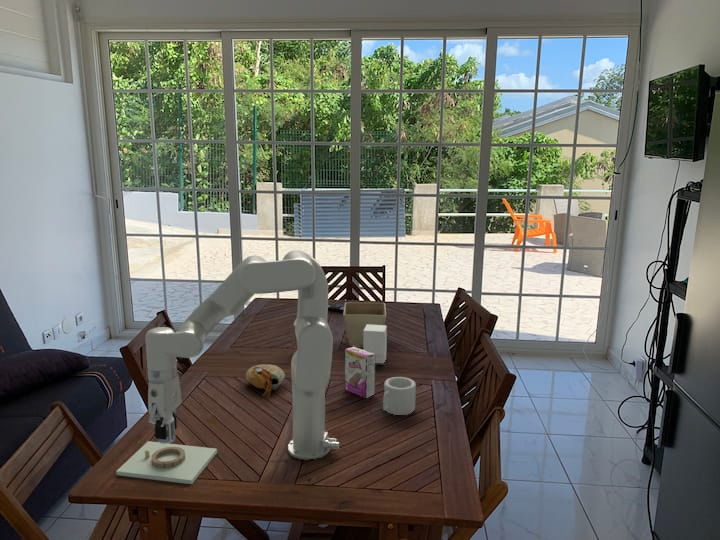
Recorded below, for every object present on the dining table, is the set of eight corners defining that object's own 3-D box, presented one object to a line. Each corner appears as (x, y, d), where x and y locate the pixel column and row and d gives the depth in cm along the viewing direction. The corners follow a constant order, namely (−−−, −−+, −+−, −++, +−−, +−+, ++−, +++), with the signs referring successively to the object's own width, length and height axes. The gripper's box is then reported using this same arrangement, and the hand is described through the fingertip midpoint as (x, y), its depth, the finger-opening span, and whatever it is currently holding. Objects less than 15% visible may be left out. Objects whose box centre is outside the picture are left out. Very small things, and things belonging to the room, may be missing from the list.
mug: (398, 399, 198) (398, 373, 196) (421, 409, 190) (422, 382, 188) (371, 411, 188) (372, 384, 186) (395, 422, 181) (395, 394, 179)
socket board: (217, 452, 162) (216, 442, 161) (191, 484, 146) (191, 473, 146) (148, 444, 166) (147, 435, 165) (116, 475, 150) (115, 464, 149)
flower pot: (385, 351, 245) (386, 314, 242) (343, 350, 245) (343, 314, 242) (384, 336, 264) (385, 302, 260) (344, 336, 264) (344, 302, 260)
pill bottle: (169, 433, 158) (167, 406, 156) (178, 439, 155) (177, 411, 153) (154, 440, 154) (152, 412, 152) (163, 446, 151) (161, 417, 149)
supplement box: (386, 358, 237) (387, 325, 233) (384, 366, 228) (384, 331, 225) (366, 356, 238) (366, 323, 235) (362, 364, 229) (362, 330, 226)
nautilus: (282, 402, 195) (240, 405, 195) (287, 375, 216) (248, 377, 215) (281, 382, 193) (238, 385, 192) (285, 356, 214) (247, 358, 213)
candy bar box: (343, 390, 204) (344, 348, 201) (353, 386, 208) (353, 345, 204) (366, 400, 197) (366, 356, 193) (375, 395, 200) (376, 353, 197)
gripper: (158, 386, 141) (162, 450, 145) (190, 362, 158) (192, 420, 162) (132, 384, 143) (136, 447, 146) (165, 360, 159) (169, 418, 163)
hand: (166, 432), depth 154 cm, fingers closed on pill bottle, 4 cm apart
